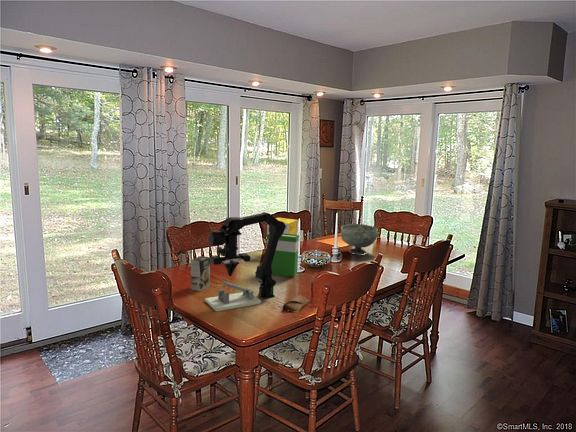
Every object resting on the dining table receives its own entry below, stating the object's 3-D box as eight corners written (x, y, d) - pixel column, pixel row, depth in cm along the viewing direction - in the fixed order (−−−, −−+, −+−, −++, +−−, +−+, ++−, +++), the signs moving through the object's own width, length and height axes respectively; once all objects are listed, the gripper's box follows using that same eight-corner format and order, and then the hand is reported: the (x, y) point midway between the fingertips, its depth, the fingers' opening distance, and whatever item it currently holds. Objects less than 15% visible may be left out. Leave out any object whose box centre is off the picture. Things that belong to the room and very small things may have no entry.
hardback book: (265, 273, 253) (266, 234, 249) (269, 270, 260) (270, 231, 256) (294, 277, 249) (296, 237, 244) (297, 273, 256) (299, 234, 252)
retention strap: (246, 291, 212) (247, 288, 212) (250, 294, 207) (252, 291, 208) (221, 282, 204) (223, 280, 204) (225, 285, 200) (227, 283, 200)
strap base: (248, 294, 218) (248, 283, 217) (260, 303, 206) (261, 291, 205) (205, 301, 206) (205, 289, 205) (216, 311, 194) (216, 299, 193)
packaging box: (297, 254, 299) (298, 220, 294) (287, 260, 284) (289, 223, 280) (276, 251, 305) (277, 217, 301) (266, 256, 290) (267, 220, 286)
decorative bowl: (375, 249, 321) (376, 223, 318) (378, 259, 296) (380, 231, 293) (340, 248, 324) (340, 223, 320) (340, 258, 299) (341, 230, 295)
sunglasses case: (299, 313, 196) (293, 300, 196) (287, 318, 198) (280, 305, 199) (312, 301, 212) (306, 288, 212) (300, 305, 215) (294, 293, 215)
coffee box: (201, 291, 219) (201, 261, 216) (190, 289, 221) (190, 259, 218) (210, 286, 227) (210, 257, 224) (199, 284, 229) (200, 255, 226)
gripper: (242, 239, 212) (240, 269, 215) (206, 241, 203) (205, 273, 205) (251, 244, 203) (250, 275, 205) (214, 247, 193) (213, 280, 196)
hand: (229, 276), depth 203 cm, fingers closed
